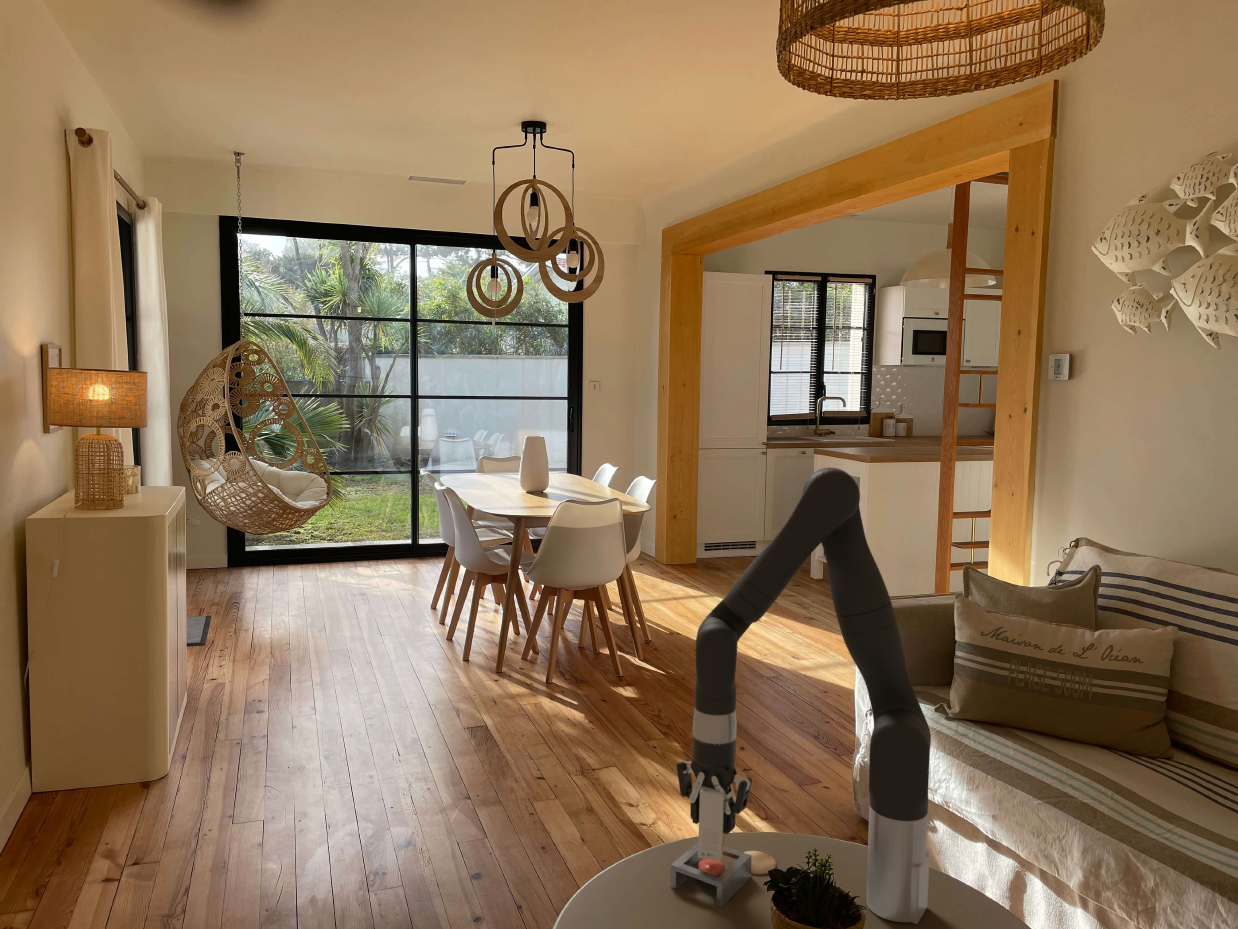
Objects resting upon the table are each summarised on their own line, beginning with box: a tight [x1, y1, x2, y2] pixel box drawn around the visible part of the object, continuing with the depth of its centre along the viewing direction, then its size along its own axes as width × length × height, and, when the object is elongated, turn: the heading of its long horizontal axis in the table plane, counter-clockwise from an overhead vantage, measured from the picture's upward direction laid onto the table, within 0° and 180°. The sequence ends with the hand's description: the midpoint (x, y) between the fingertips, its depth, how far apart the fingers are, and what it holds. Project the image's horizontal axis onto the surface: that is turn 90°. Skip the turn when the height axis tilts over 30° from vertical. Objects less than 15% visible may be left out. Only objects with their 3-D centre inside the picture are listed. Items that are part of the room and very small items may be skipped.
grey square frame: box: [670, 842, 752, 907], centre depth 154 cm, size 10×11×4 cm
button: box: [696, 859, 727, 877], centre depth 154 cm, size 6×6×1 cm
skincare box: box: [697, 786, 726, 862], centre depth 153 cm, size 6×4×12 cm
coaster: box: [742, 850, 777, 876], centre depth 160 cm, size 7×7×1 cm
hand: (712, 826), depth 153 cm, fingers closed on skincare box, 5 cm apart
